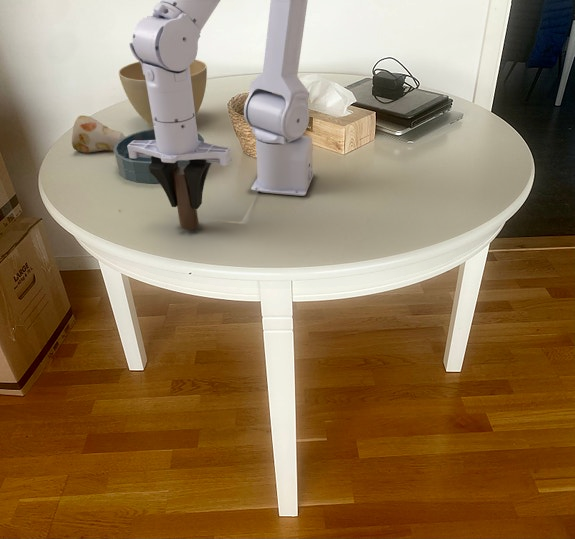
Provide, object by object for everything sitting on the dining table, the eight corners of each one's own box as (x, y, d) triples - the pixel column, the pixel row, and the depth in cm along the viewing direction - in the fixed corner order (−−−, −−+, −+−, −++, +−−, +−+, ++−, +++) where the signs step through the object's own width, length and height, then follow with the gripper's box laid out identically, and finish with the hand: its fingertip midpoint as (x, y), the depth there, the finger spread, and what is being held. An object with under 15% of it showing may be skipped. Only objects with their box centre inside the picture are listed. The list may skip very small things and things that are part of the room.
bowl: (217, 152, 104) (215, 130, 102) (188, 190, 91) (184, 166, 89) (141, 146, 107) (137, 125, 105) (102, 182, 94) (96, 158, 92)
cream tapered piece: (127, 158, 103) (90, 119, 96) (91, 175, 107) (53, 138, 101) (137, 135, 108) (102, 96, 101) (102, 152, 112) (66, 115, 105)
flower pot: (223, 113, 122) (218, 58, 115) (193, 143, 108) (185, 83, 101) (152, 108, 126) (143, 54, 119) (114, 136, 112) (101, 77, 105)
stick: (201, 221, 81) (194, 167, 76) (194, 230, 79) (187, 175, 74) (184, 219, 82) (176, 165, 77) (177, 228, 80) (168, 174, 75)
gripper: (109, 122, 69) (129, 213, 77) (215, 129, 66) (224, 223, 74) (133, 104, 75) (150, 191, 82) (232, 110, 72) (239, 199, 80)
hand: (186, 204), depth 79 cm, fingers closed on stick, 3 cm apart
